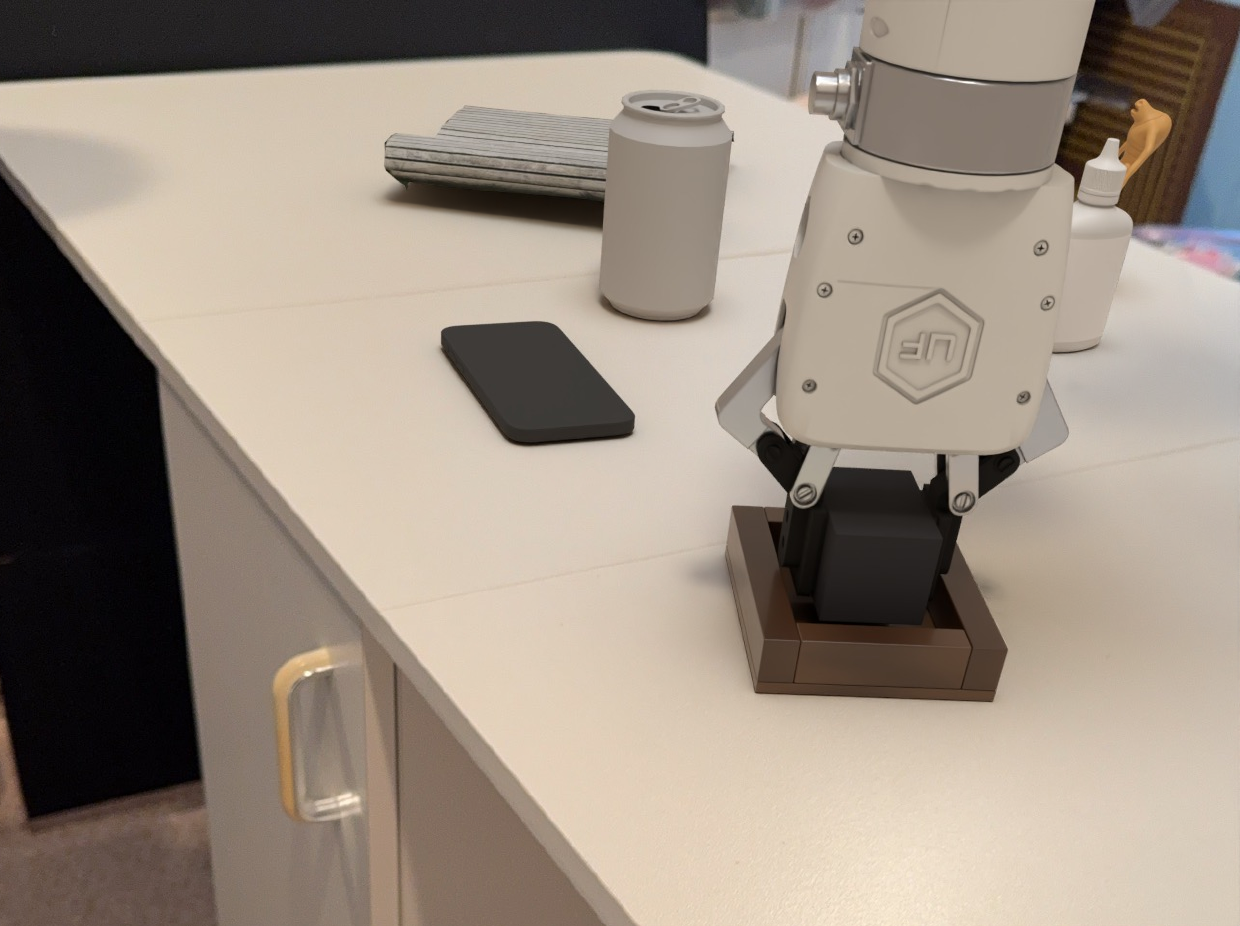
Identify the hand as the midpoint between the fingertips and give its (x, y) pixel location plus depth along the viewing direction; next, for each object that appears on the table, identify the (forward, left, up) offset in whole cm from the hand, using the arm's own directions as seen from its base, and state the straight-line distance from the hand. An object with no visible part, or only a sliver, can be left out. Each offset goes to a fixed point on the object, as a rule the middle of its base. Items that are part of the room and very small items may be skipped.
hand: (858, 579), depth 63 cm
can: (+6, -40, -2) cm, 41 cm away
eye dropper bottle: (-20, -37, -2) cm, 42 cm away
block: (0, 0, 0) cm, 0 cm away
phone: (+14, -25, -2) cm, 29 cm away
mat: (+11, -67, -2) cm, 68 cm away
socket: (0, 0, -2) cm, 2 cm away
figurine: (-25, -49, -2) cm, 55 cm away
